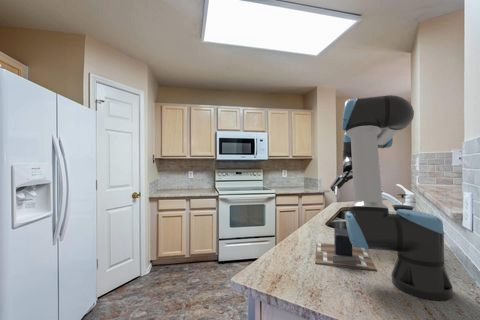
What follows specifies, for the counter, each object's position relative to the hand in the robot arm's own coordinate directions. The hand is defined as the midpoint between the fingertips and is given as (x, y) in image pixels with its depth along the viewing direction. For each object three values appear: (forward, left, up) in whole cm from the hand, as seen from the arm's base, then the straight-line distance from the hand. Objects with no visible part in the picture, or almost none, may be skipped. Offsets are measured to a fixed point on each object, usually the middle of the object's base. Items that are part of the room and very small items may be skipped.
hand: (351, 192), depth 106 cm
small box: (-12, +5, -25) cm, 28 cm away
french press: (+22, -26, -26) cm, 43 cm away
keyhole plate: (-8, +5, -26) cm, 27 cm away
